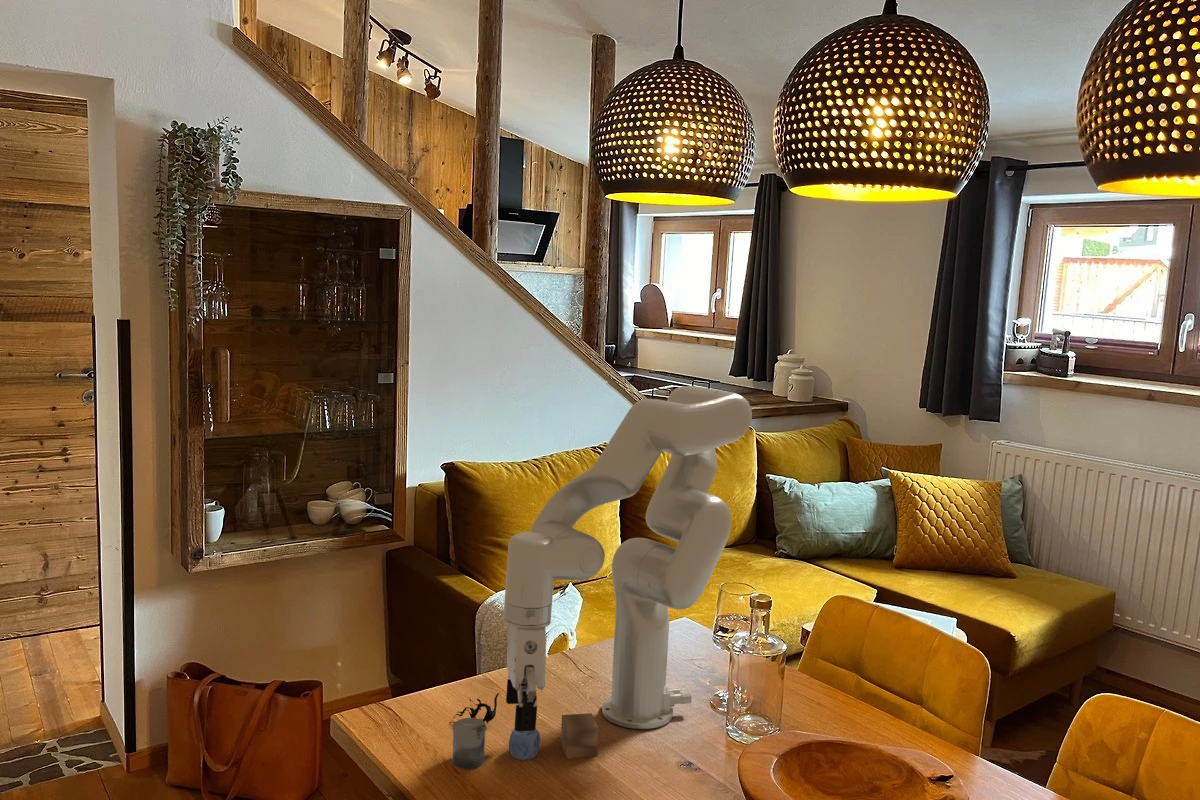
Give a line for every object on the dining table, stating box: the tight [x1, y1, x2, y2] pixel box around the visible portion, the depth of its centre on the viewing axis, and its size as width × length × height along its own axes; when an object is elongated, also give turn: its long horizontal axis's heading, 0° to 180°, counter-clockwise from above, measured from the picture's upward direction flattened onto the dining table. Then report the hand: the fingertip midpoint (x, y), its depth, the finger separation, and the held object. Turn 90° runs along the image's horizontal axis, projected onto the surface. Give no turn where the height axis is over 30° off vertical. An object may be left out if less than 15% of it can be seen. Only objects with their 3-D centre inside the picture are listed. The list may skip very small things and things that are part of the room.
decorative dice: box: [508, 727, 541, 761], centre depth 151 cm, size 4×4×4 cm
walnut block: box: [560, 712, 599, 760], centre depth 153 cm, size 5×5×5 cm
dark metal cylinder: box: [451, 717, 486, 770], centre depth 148 cm, size 5×5×6 cm
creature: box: [453, 692, 501, 724], centre depth 160 cm, size 8×5×8 cm
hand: (520, 716), depth 149 cm, fingers open, 9 cm apart
